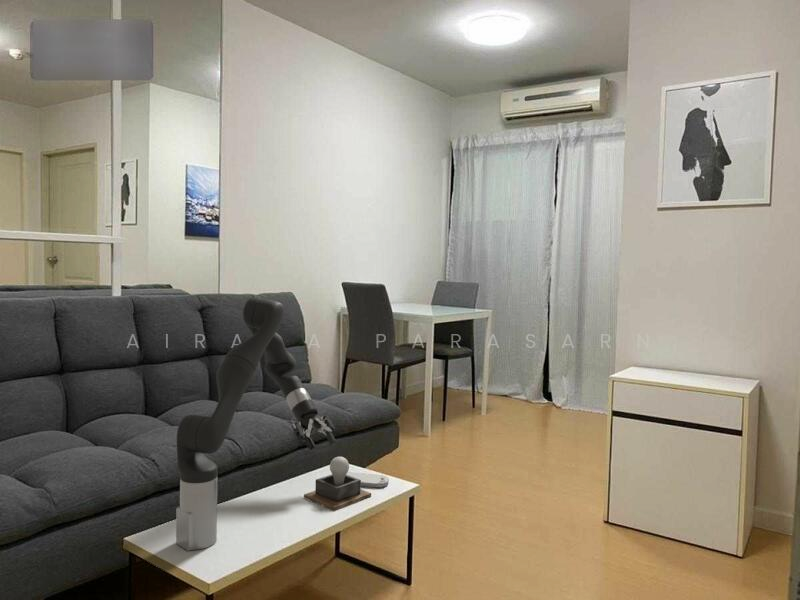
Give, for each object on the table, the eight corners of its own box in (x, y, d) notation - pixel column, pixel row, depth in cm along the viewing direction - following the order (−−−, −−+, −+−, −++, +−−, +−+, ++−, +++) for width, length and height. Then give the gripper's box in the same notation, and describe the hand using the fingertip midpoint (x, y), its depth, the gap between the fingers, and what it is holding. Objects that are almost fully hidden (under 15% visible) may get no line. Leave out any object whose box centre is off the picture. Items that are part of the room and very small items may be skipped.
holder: (334, 510, 182) (334, 492, 182) (303, 497, 191) (304, 480, 191) (371, 496, 194) (371, 479, 194) (340, 484, 203) (341, 468, 203)
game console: (390, 474, 209) (385, 482, 200) (390, 481, 209) (385, 490, 201) (339, 469, 212) (333, 478, 203) (339, 476, 212) (332, 485, 204)
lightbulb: (325, 491, 192) (326, 457, 191) (336, 486, 197) (337, 452, 197) (340, 496, 189) (341, 461, 188) (352, 490, 194) (353, 456, 194)
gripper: (289, 401, 196) (312, 444, 189) (323, 395, 207) (345, 435, 200) (279, 414, 200) (300, 457, 193) (312, 408, 210) (334, 448, 204)
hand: (323, 446), depth 196 cm, fingers open, 8 cm apart
